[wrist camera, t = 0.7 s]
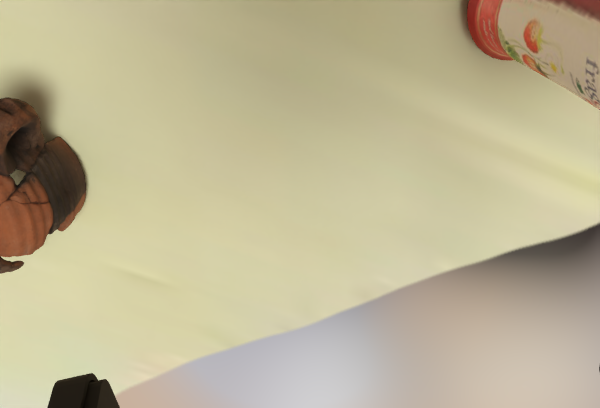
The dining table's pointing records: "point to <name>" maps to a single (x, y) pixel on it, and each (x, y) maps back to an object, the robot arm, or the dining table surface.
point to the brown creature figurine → (33, 183)
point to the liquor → (543, 39)
